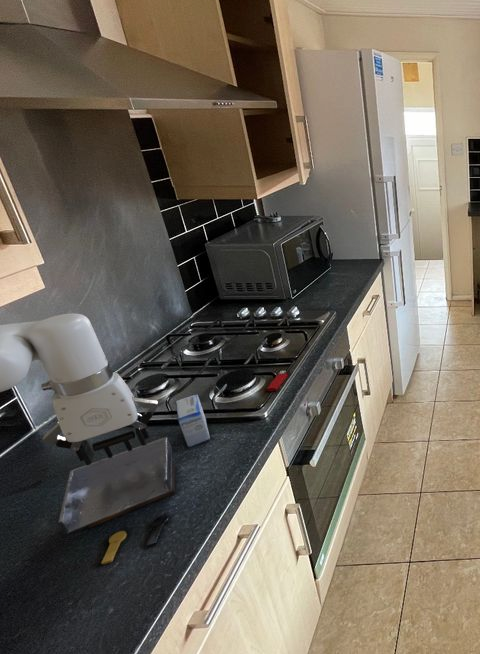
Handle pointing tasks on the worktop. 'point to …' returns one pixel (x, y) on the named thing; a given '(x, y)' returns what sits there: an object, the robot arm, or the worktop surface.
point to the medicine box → (192, 420)
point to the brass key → (113, 546)
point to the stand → (140, 504)
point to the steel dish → (116, 481)
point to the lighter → (277, 381)
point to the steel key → (157, 529)
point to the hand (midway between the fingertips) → (118, 450)
